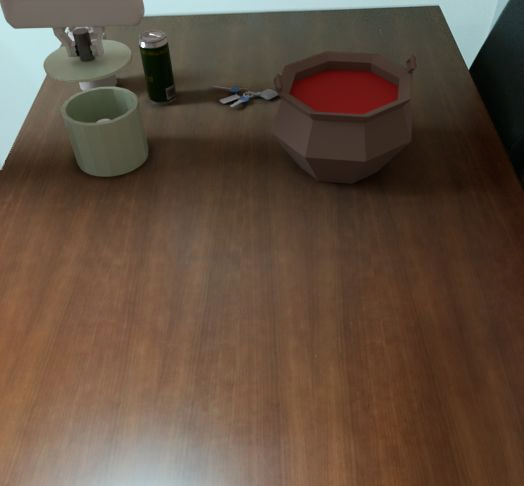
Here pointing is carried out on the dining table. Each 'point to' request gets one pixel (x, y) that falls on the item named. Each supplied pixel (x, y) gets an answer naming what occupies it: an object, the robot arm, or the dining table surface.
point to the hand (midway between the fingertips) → (86, 55)
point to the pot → (106, 131)
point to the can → (98, 83)
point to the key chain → (265, 94)
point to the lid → (87, 60)
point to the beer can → (157, 67)
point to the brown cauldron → (344, 113)
